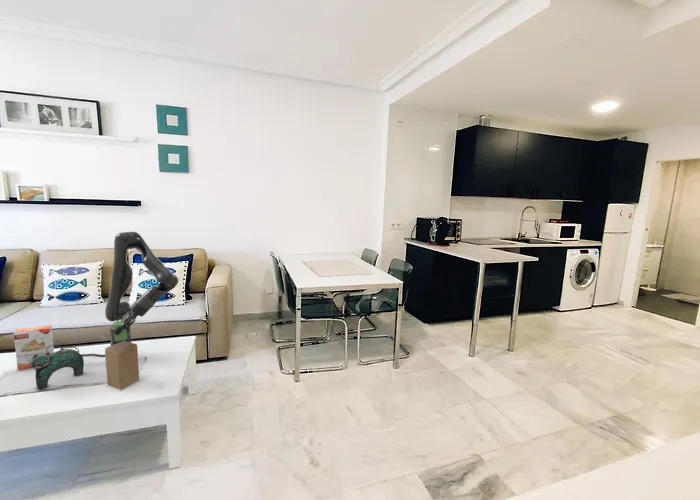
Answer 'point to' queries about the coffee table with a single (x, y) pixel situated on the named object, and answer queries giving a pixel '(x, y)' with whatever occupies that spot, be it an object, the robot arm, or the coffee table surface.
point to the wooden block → (122, 364)
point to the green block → (122, 335)
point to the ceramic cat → (55, 364)
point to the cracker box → (32, 344)
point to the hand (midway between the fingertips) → (115, 331)
